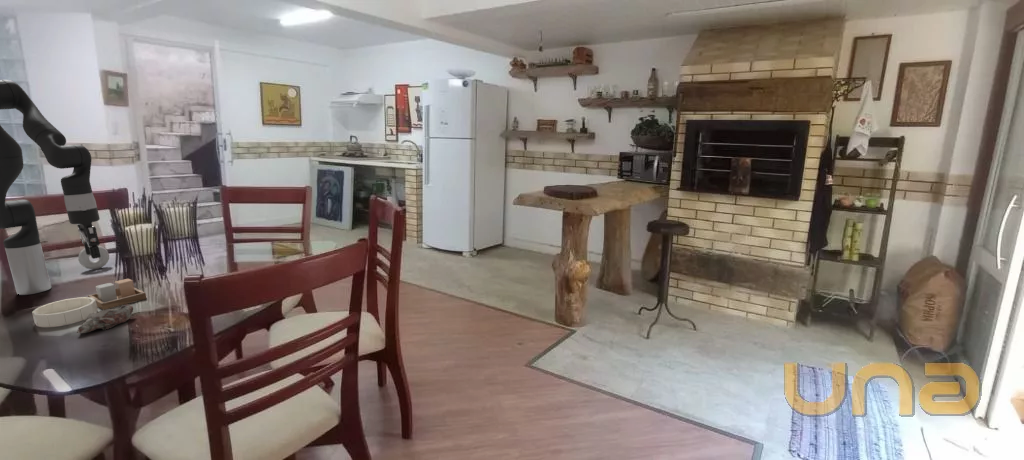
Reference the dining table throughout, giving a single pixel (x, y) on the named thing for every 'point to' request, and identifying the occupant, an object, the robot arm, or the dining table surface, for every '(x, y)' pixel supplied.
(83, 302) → the cream bowl
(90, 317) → the mineral rock
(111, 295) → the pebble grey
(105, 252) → the donut
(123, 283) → the tan block
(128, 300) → the walnut tray
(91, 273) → the dining table surface
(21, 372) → the dining table surface
